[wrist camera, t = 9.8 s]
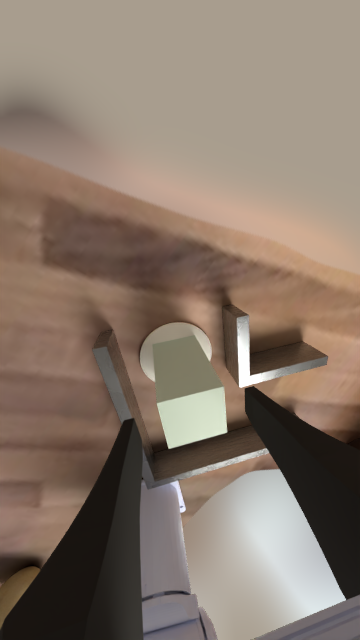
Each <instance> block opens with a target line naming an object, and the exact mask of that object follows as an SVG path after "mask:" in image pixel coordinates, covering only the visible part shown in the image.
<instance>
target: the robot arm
mask: <svg viewBox="0 0 360 640" xmlns="http://www.w3.org/2000/svg"><path fill="white" fill-rule="evenodd" d="M245 412H246V414H247V416H248V418H249V420H250V422H251V424H252V426H253V428H254V429H255V431H256V433H257V434H258V436H259V437H260V439H261V440H262V442H263V443H264V445H265V447H266V448H267V450H268V451H269V453H270V454H271V456H272V457H273V459H274V461H275V462H276V464H277V465H278V467H279V469H280V470H281V472H282V474H283V475H284V477H285V479H286V481H287V483H288V485H289V486H290V488H291V490H292V492H293V494H294V496H295V498H296V500H297V502H298V503H299V505H300V507H301V509H302V511H303V513H304V515H305V517H306V519H307V521H308V523H309V525H310V527H311V529H312V531H313V533H314V535H315V537H316V539H317V541H318V543H319V545H320V547H321V549H322V551H323V553H324V555H325V558H326V560H327V562H328V564H329V566H330V568H331V570H332V572H333V574H334V577H335V578H336V581H337V583H338V585H339V587H340V589H341V591H342V593H343V595H344V596H345V598H346V601H343V602H341V603H339V604H336V605H334V606H332V607H329V608H327V609H324V610H322V611H319V612H317V613H314V614H312V615H310V616H307V617H305V618H303V619H300V620H298V621H295V622H293V623H290V624H288V625H286V626H283V627H281V628H278V629H276V630H274V631H271V632H269V633H267V634H264V635H262V636H259V637H257V638H254V639H252V640H360V450H358V449H356V448H354V447H352V446H350V445H348V444H345V443H343V442H341V441H339V440H337V439H335V438H333V437H331V436H329V435H327V434H325V433H324V432H322V431H320V430H318V429H316V428H315V427H313V426H311V425H309V424H308V423H306V422H304V421H303V420H301V419H300V418H298V417H296V416H295V415H293V414H292V413H290V412H289V411H287V410H286V409H284V408H283V407H281V406H280V405H279V404H277V403H276V402H274V401H273V400H272V399H270V398H269V397H267V396H266V395H265V394H263V393H262V392H261V391H259V390H258V389H257V388H255V387H254V386H253V387H249V388H245ZM142 466H143V450H142V438H141V436H140V433H139V430H138V427H137V424H136V421H135V418H131V419H127V420H124V421H123V423H122V426H121V428H120V431H119V434H118V436H117V438H116V441H115V443H114V446H113V448H112V450H111V452H110V454H109V457H108V459H107V461H106V463H105V465H104V467H103V469H102V471H101V473H100V475H99V477H98V479H97V481H96V483H95V485H94V487H93V489H92V490H91V492H90V494H89V496H88V498H87V499H86V501H85V503H84V505H83V506H82V508H81V510H80V511H79V513H78V514H77V516H76V518H75V519H74V521H73V523H72V524H71V526H70V527H69V529H68V531H67V532H66V534H65V535H64V537H63V538H62V540H61V541H60V543H59V544H58V546H57V547H56V548H55V550H54V551H53V553H52V554H51V556H50V557H49V559H48V560H47V562H46V563H45V565H44V566H43V567H42V569H41V570H40V572H39V573H38V574H37V576H36V577H35V579H34V580H33V581H32V583H31V584H30V585H29V587H28V588H27V589H26V591H25V592H24V593H23V595H22V596H21V597H20V599H19V600H18V601H17V603H16V604H15V606H14V607H13V608H12V610H11V611H10V612H9V614H8V615H7V616H6V618H5V619H4V622H3V624H2V627H1V629H0V640H218V639H217V635H216V632H215V629H214V626H213V624H212V622H211V619H210V618H209V617H208V615H207V613H206V611H205V610H204V609H203V608H202V607H199V608H198V602H197V596H196V594H192V595H191V589H190V582H189V575H188V566H187V560H186V552H185V544H184V536H183V529H182V521H181V512H184V511H185V510H186V509H185V504H184V500H183V497H182V493H181V489H180V486H179V482H178V481H175V482H172V483H169V484H165V485H162V486H159V487H156V488H152V489H149V490H148V489H147V487H146V484H145V482H144V480H142Z"/></svg>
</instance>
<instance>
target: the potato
mask: <svg viewBox="0 0 360 640" xmlns="http://www.w3.org/2000/svg"><path fill="white" fill-rule="evenodd" d="M39 572H40V569H39V568H37V567H33V566H32V567H27V568H24V569H22V570H20V571H18V572H17V573H15V574H14V575H12V576H11V577H10V578H9V579H8V580H7V581H6V582H5V583H4V584H3V585H2V586H1V587H0V629H1V627H2V624H3V622H4V619H5V618H6V616H7V615H8V614H9V612H10V611H11V610H12V608H13V607H14V606H15V604H16V603H17V601H18V600H19V599H20V597H21V596H22V595H23V593H24V592H25V591H26V589H27V588H28V587H29V585H30V584H31V583H32V581H33V580H34V579H35V577H36V576H37V574H38V573H39Z"/></svg>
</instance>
